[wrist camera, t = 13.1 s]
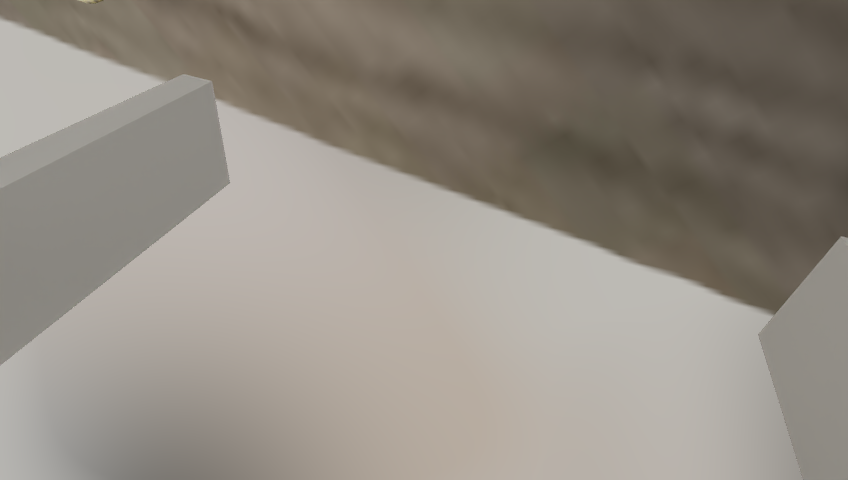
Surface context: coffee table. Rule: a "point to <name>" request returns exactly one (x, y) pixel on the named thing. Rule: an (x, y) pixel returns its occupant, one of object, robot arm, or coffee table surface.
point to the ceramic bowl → (90, 1)
